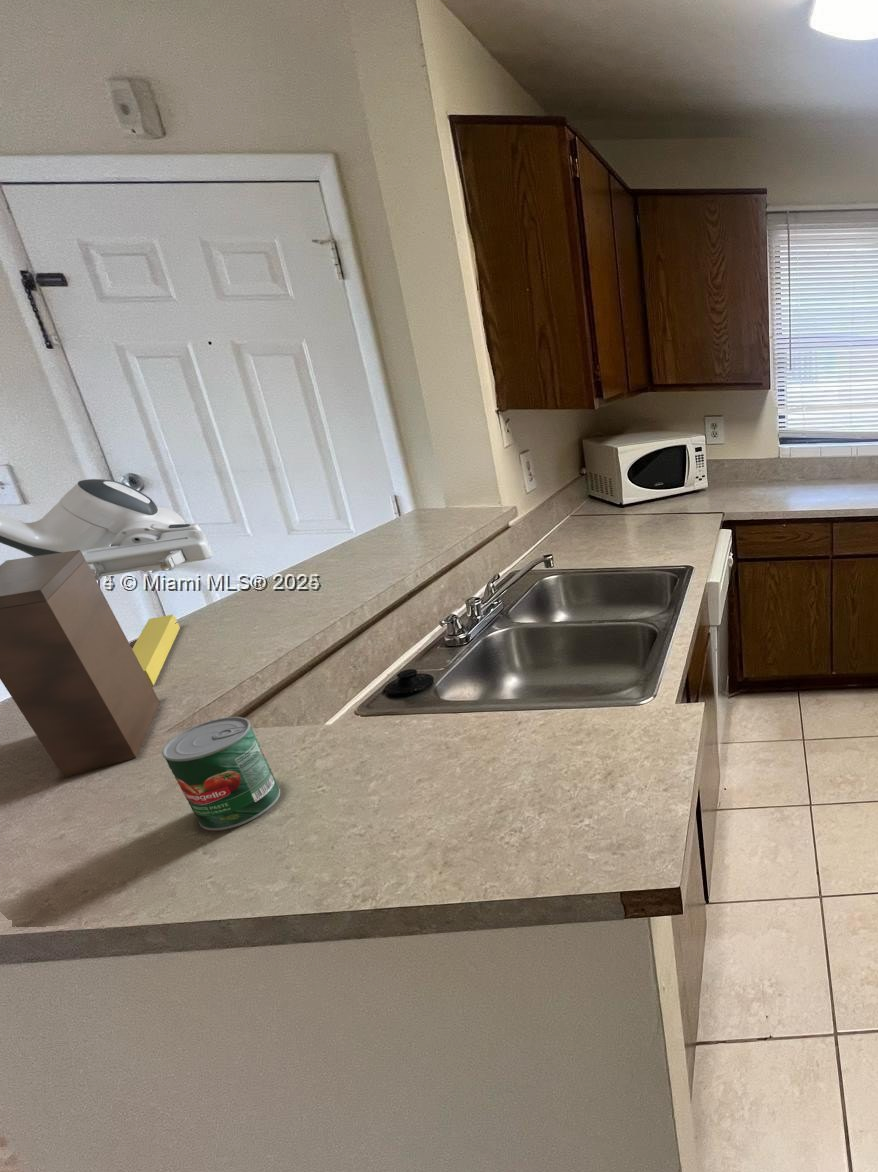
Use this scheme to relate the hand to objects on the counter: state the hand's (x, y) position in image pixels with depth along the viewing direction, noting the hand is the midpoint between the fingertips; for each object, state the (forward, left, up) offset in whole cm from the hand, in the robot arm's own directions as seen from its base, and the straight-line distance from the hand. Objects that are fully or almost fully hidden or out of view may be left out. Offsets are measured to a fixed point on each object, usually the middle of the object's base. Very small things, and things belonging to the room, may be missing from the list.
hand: (128, 570), depth 108 cm
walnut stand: (0, -34, -14) cm, 36 cm away
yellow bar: (0, -7, -14) cm, 16 cm away
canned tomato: (+16, -62, -14) cm, 65 cm away
